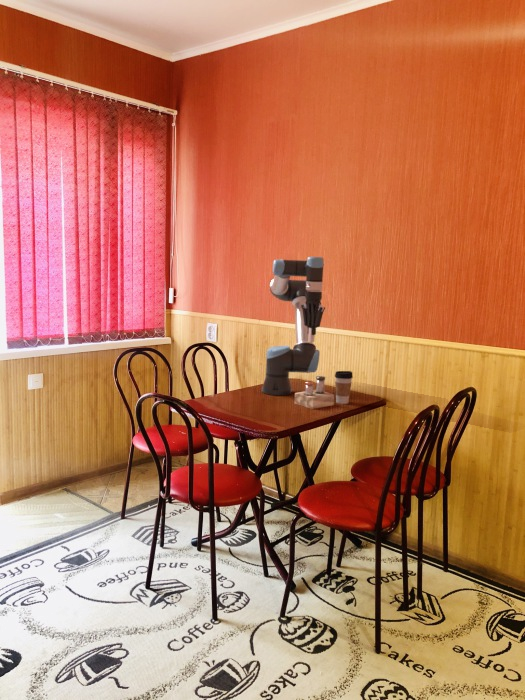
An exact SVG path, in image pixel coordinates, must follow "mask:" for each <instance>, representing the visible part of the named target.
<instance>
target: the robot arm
mask: <svg viewBox="0 0 525 700" xmlns="http://www.w3.org/2000/svg"><path fill="white" fill-rule="evenodd" d="M324 265H325V263H324V258H323V257H322V256H308V257H307V260H301V259H300V260H299V259H274V260H273V263H272V273H273V275H274V277H273V279H272V280H270V281H271V282H270V284H269V291H270V293H271V294H272V296H274V297H275V299H278V300H279V301H283V302H291V305H292V306H293V308H294V324H295V344H294V345H293V347H292V348H291V347H290V346H289V345H278V346H276V345H275V346H272V347H269V348H268V349H267V350H266V357H265V360H266V363H265V365H266V367H265V378H264V382H263V384H262V386H261V392H262V394H266V395H271V396H287V395H291V394H292V390H293V389H292V386H291V382H290V378H289V377H290V373H305V374H306V373H307V374H310V373H315V372H317V370H318V366H319V363H320V362H319V361H320V350H319V349H317V345H315V343H314V342H315V336H316V334H317V332H316V331H317V329H318V328H319V327H320V326H321V322H322V318H323V315H324V312H325V310H326V307H325V306H322V303H321V302H322V301H321V300H322V299H323V298H322V295H323V292H322V291H323V277H324ZM291 277H305V278H306V279H303V280H301V279H290V278H291Z"/></svg>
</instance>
